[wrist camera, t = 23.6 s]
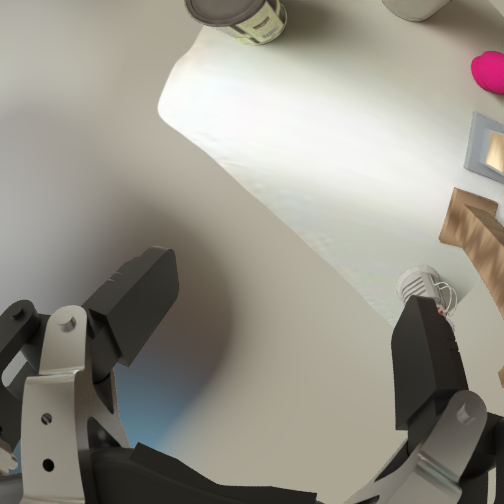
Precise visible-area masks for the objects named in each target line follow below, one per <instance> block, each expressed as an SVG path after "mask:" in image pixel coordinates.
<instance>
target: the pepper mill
mask: <svg viewBox="0 0 504 504" xmlns="http://www.w3.org/2000/svg"><path fill="white" fill-rule="evenodd" d="M471 70H472V75H473V77H474V79H475V81H476V82H477V84H478V85H479V86H480V87H481V88H483V89H484V90H487V91H493V92H495V93H497V94H500V95H504V54H502V53H499V52H496V51H487V52H485V53H483V54H482V55H481V56H478V57H476V58H474V59H473V61H472V64H471Z"/></svg>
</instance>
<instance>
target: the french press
mask: <svg viewBox="0 0 504 504" xmlns="http://www.w3.org/2000/svg"><path fill="white" fill-rule="evenodd" d="M440 283H445V284H446V285H447V286H444V287H442V288H440V287H439V284H440ZM446 287H449V289H450V295H451V298H450V303H449V306H448V308H449V307H450V304H451V299H452V291H451V288H452V289H453V291H454V293H455V295H456V305H455V309H456V306H457V293H456V291H455V289H454V288H453V287H451V286H449V285H448V284H447V283H446V282H440V278H439V274H438V273H437V271H436V270H435V269H434V268H432V267H429V266H427V265H418V266H415V267H413V268H410V269H408V270H407V271H406V272H405V273H403V274H402V275H401V277H400V279H399V280H398V282H397V287H396V292H397V295H398V298H399V299H401V300H402V301H403V302H404V305H405V306H406V303H407V301H408V299H409V297H410V296H411V295H419V296H425V297H431V298H433V299H434V300H436V298H437V297H438V299H437V301H436V302H435V303H436V306H437V309H438V312H439V314H440V315H443V316H444V317H445V318H446V316H447V313H448V315H449V316H452V315H453V313H454V311H455V309H454V311H453V313H452V314H451V315H450V314H449V312H448V311H447V310H448V308H447V309H446V305H445V301H444V299H443V296H442V294H441V291H440V290H441V289H443V288H446ZM438 290H439V294H438ZM439 298H440V301H439ZM441 298H442V305H441ZM438 301H439V304H438ZM443 302H444V306H443ZM446 312H447V313H446ZM446 320H447V321H448V322H449V324H450V325H451V326H452V329H453V333H454V331H455V330H454V324H453V323H452V322H451V320H449V319H446Z"/></svg>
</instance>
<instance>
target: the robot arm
mask: <svg viewBox="0 0 504 504" xmlns="http://www.w3.org/2000/svg"><path fill="white" fill-rule="evenodd" d="M450 1H451V0H382V2H383V3H384V5H385V6H386V7H387V8H388V9H389V10H390V11H391V12H393V13H394V14H395V15H397V16H399V17H401V18H403V19H406V20H409V21H417V22H419V21H423V20H426V19H427V18H429V17H430V16H431V15H433V14H434V13H435V12H437V11H438V10H439V9H440V8H442V7H443V6H444V5H446V4H447V3H448V2H450ZM178 292H179V281H178V273H177V266H176V257H175V253H174V251H173V250H172V249H168V248H163V247H158V246H151V247H150V248H148V249H147V250H146V251H145V252H144V253H143V254H142V255H141V256H140V257H136V258H134V259H132V260H130V261H128V262H126V263H125V264H124V265H123V266H122V267H120V268H119V269H118V270H117V271H116V274H113V275H112V276H111V277H110V278H109V280H108V281H106V282H105V283H104V284H103V285H102V286H101V287H100V288H99V289H98V290H97V291H96V292H95V293H94V294H93V295H92V296H91V297H90V298H89V299H88V300H87V301H86V302H85V303H84V304H83V305H82V306H81V307H80V306H76V305H70V306H65V307H62V308H60V309H58V310H57V311H56V312H54V313H53V314H52V315H44V314H38V313H37V311H36V309H35V307H34V305H33V303H32V302H31V301H29V300H20V301H17V302H15V303H13V304H12V305H11V306H9V308H7V309H6V310H5V311H4V313H3V314H2V315H1V316H0V504H324V503H322V502H320V501H317V500H316V496H317V493H312V492H303V491H296V490H289V489H283V488H277V487H272V486H265V487H264V486H261V487H260V486H257V487H256V486H255V487H254V486H225V485H219V484H216V483H214V482H213V481H211V480H209V479H208V478H205V477H204V476H202V475H201V474H199V473H198V472H196V471H195V470H193V469H191V468H190V467H188V466H187V465H185V464H184V463H182V462H181V461H179V460H178V459H176V458H173V457H171V456H168V455H166V454H164V453H161V452H159V451H156V450H154V449H152V448H150V447H148V446H146V445H143V444H141V443H139V442H138V443H137V445H136V447H135V449H134V448H130V447H129V443H128V439H127V436H126V433H125V431H124V428H123V426H122V424H121V421H120V417H119V410H118V402H117V394H116V384H115V373H114V370H113V367H114V365H115V364H116V362H118V363H120V364H122V365H125V366H127V367H129V366H130V365H131V363H132V362H133V360H134V359H135V357H136V356H137V354H138V353H139V351H140V350H141V349H142V347H143V346H144V344H145V343H146V341H147V340H148V339H149V337H150V336H151V334H152V333H153V332H154V330H155V329H156V327H157V326H158V325H159V323H160V322H161V320H162V319H163V317H164V316H165V315H166V313H167V312H168V311H169V309H170V308H171V306H172V305H173V304H174V302H175V301H176V299H177V296H178ZM391 349H392V360H393V371H394V387H395V414H396V415H395V416H396V430H408V438H406V439H405V440H404V441H403V443H402V444H401V445H400V447H399V448H398V449H397V451H396V452H395V453H394V454H393V455H392V457H391V458H390V459H389V460H388V462H386V464H385V465H384V466H383V467H382V468H381V470H380V471H379V472H378V473H377V474H376V475H375V476H374V477H373V478H372V479H371V480H370V481H369V482H368V483H367V484H366V485H365V486H364V487H363V488H361V489H360V490H358V491H357V492H356V493H355V494H353V495H352V496H351V497H350V498H349V499H348V500H346V501H345V502H344V503H343V504H487V496H488V471H490V470H492V469H493V468H495V467H496V497H495V501H494V504H504V417H502V416H498V415H496V414H492V413H489V412H487V410H486V406H485V403H484V402H483V400H482V399H481V397H480V396H479V395H477V394H476V393H474V392H472V391H469V388H468V384H467V380H466V375H465V371H464V367H463V363H462V360H461V356H460V353H459V352H458V350H459V349H458V346H457V342H455V336H454V333H453V329H452V326H451V325H450V324H449V322H448V321H447V320H446V318H445V317H444V316H443V315H440V314H439V312H438V309H437V306H436V303H435V300H434V299H433V298H431V297H425V296H419V295H411V296H410V297H409V299H408V301H407V303H406V306H405V308H404V310H403V312H402V314H401V316H400V318H399V320H398V322H397V324H396V326H395V328H394V331H393V335H392V340H391ZM19 350H20V351H21V352H22V354H23V355H24V357H25V358H26V359H27V362H26V363H25V365H24V366H23V367H22V369H21V370H20V371H19V373H18V374H17V375H16V377H15V378H14V379H13V381H12V382H11V384H10V385H9V386H7V387H5V386H4V385H3V383H2V379H1V377H2V373H3V371H4V370H5V368H6V367H7V366H8V364H9V363H10V362H11V361H12V359H13V358H14V357H15V355H16V354H17V353H18V352H19ZM20 438H21V462H22V473H18V474H13V475H9V474H8V472H9V468H10V469H12V470H13V469H15V468H17V465H18V461H17V459H16V457H15V456H14V455H12V452H13V451H14V449H15V447H16V445H17V443H18V441H19V440H20Z"/></svg>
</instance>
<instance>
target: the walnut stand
mask: <svg viewBox="0 0 504 504" xmlns="http://www.w3.org/2000/svg"><path fill="white" fill-rule="evenodd" d="M497 206H498V204H497V203H496V202H495V201H492V200H490V199H487V198H484V197H481V196H479V195H476V194H473V193H470V192H467V191H464V190H461V189H457V188H454V190H453V194H452V197H451V201H450V204H449V208H448V211H447V214H446V218H445V221H444V224H443V227H442V230H441V233H440V236H439V240H440V242H441V243H445V244H449V245H453V246H458V247H462V248H463V250H464V251H465V253H466V254H467V256H468V257H469V259H470V260H471V262H472V263H473V265H474V267H475V268H476V270H477V271H478V273H479V275H480V276H481V278H482V280H483V281H484V283H485V285H486V287H487V288H488V290H489V292H490V293H491V296H492V297H493V299H494V301H495V303H496V305H497V307H498V309H499V311H500V313H501V315H502V316H503V319H504V227H503V226H502V225H501V224H500V223H499V222H498V221H497V220H496V219H495V218H494V216H495V213H496V209H497ZM498 374H499V378H500V381H501V385H502V388H503V387H504V366H503V368H502V369H501V370H500V371H499V372H498Z"/></svg>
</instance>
